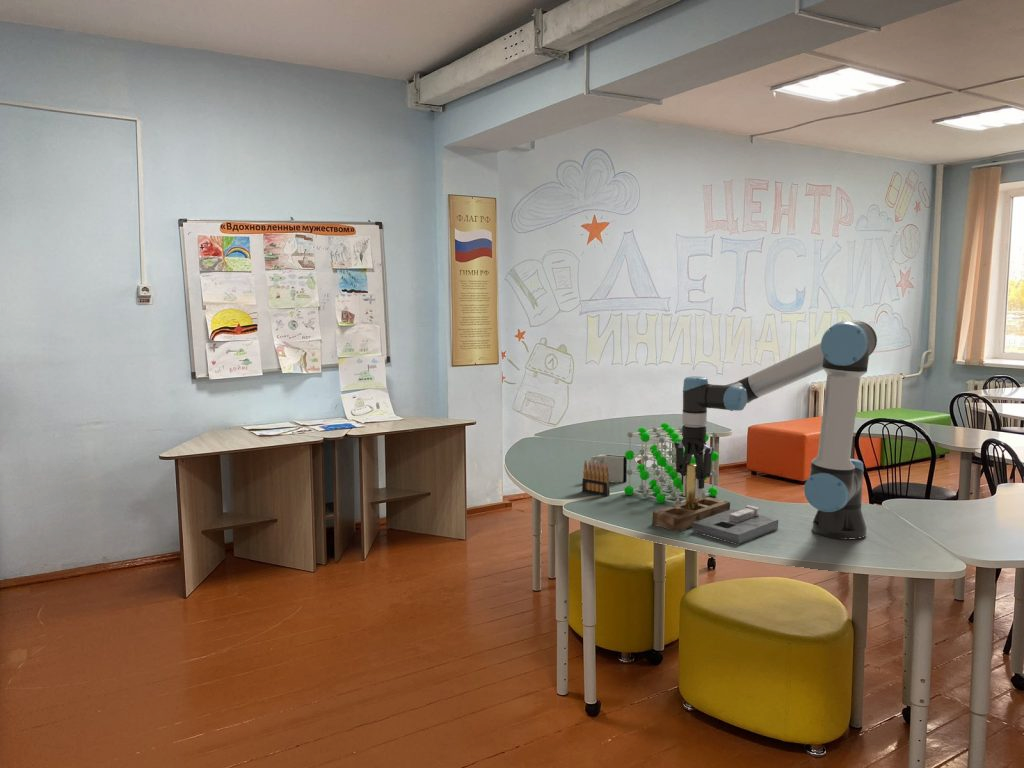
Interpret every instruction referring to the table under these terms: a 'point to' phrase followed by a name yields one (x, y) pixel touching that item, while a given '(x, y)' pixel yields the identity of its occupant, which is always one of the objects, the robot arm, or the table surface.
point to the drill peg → (691, 487)
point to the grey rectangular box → (612, 466)
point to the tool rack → (688, 513)
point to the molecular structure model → (663, 464)
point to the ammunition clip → (595, 479)
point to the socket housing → (735, 527)
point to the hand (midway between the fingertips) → (692, 496)
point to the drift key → (744, 514)
